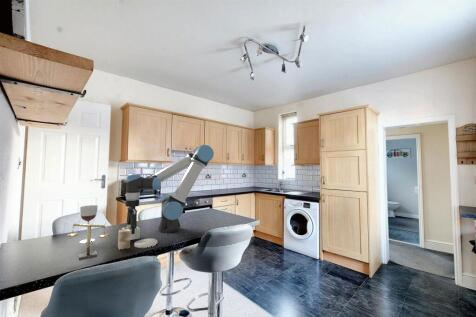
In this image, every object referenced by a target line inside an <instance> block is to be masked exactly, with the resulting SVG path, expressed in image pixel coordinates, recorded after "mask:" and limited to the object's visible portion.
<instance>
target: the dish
mask: <svg viewBox="0 0 476 317" xmlns="http://www.w3.org/2000/svg"><path fill="white" fill-rule="evenodd" d="M158 241H159V240H157V239H156V238H144V239H143V238H142V239H138V240H136V241H135V242H134V247H135V248H137V249H146V248H147V247H148V248H151V246H152V247H155V246H157V245H158ZM156 244H157V245H156Z"/></svg>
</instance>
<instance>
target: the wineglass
mask: <svg viewBox="0 0 476 317" xmlns="http://www.w3.org/2000/svg"><path fill="white" fill-rule="evenodd" d="M98 207H99V206H98V205H97V204H96V205H95V204H91V205H82V206H80V208H79V211H80V217H81V219H82V220H83V221H85V222H87V225H90V222H91V221H92V220H94V219H95V218H96V216H97V214H98V209H99V208H98ZM86 231H88V227H86ZM91 241H92V242H95V241H96V239H95V238H91ZM91 241H90V243H92V242H91ZM86 242H87V238H86V239H82V240H80V241H79V243H80V244H87V243H86Z"/></svg>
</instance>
